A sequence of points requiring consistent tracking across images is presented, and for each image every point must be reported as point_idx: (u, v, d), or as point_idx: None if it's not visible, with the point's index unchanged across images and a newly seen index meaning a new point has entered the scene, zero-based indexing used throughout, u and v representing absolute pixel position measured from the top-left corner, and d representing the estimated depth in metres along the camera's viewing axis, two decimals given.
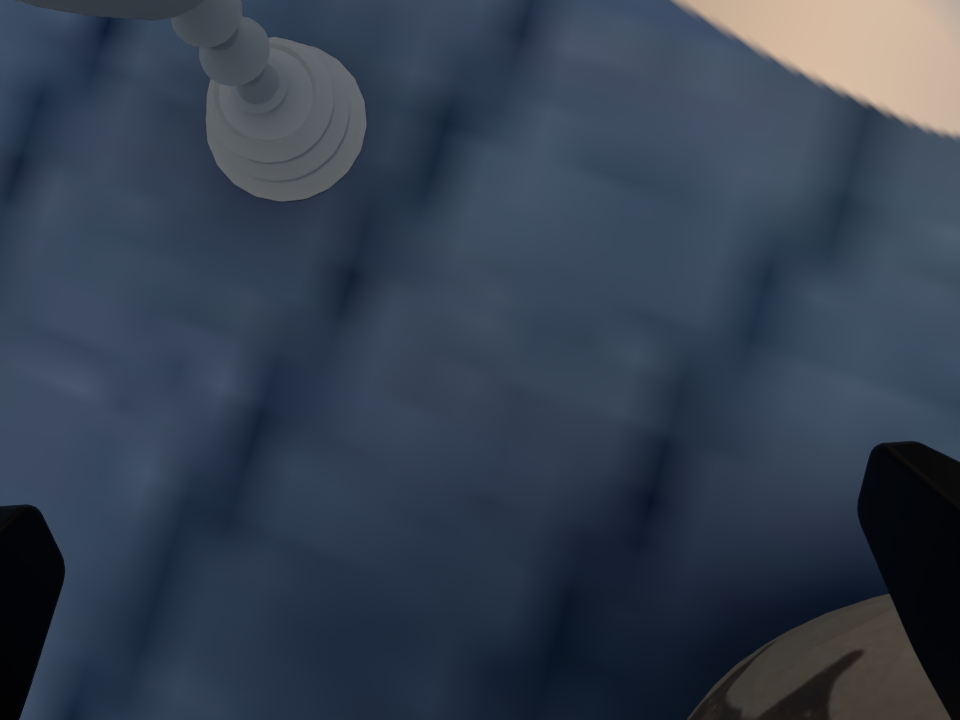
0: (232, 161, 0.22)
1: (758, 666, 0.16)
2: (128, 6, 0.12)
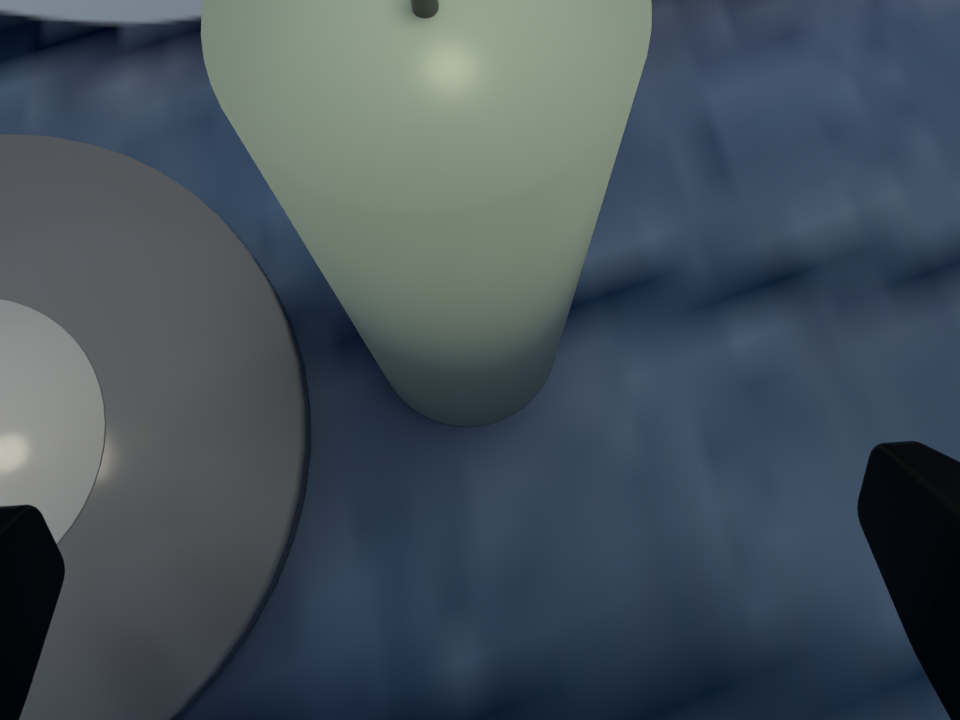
0: None
1: None
2: None
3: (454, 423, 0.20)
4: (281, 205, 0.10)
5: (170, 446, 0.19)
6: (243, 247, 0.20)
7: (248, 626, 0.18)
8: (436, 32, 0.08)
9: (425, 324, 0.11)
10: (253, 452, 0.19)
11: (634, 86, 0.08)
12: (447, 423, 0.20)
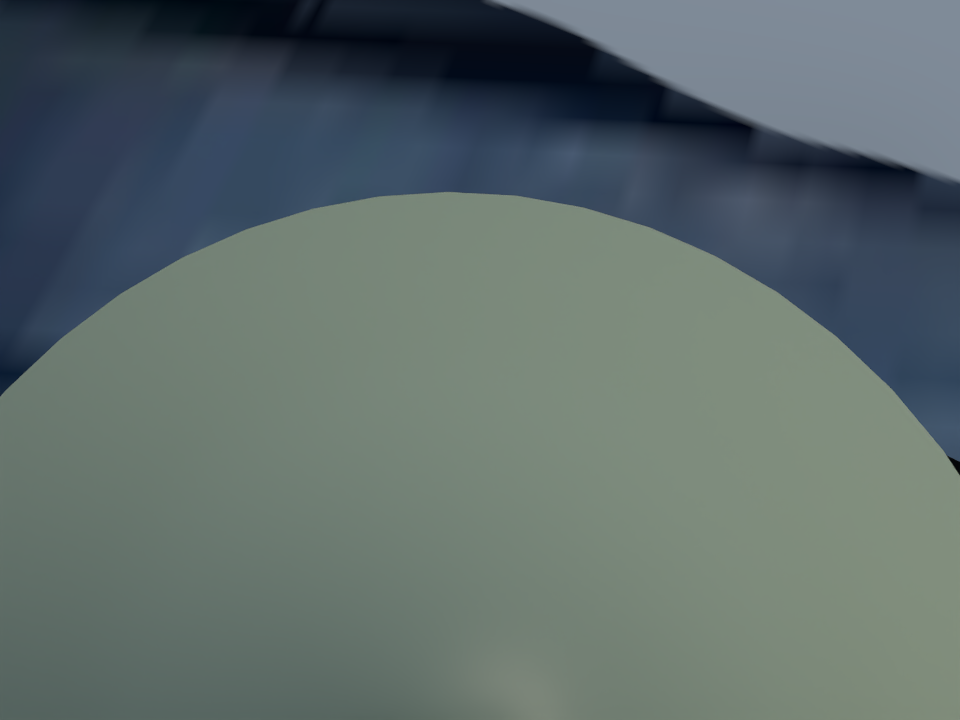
0: None
1: None
2: None
3: None
4: None
5: None
6: None
7: None
8: None
9: None
10: None
11: None
12: None
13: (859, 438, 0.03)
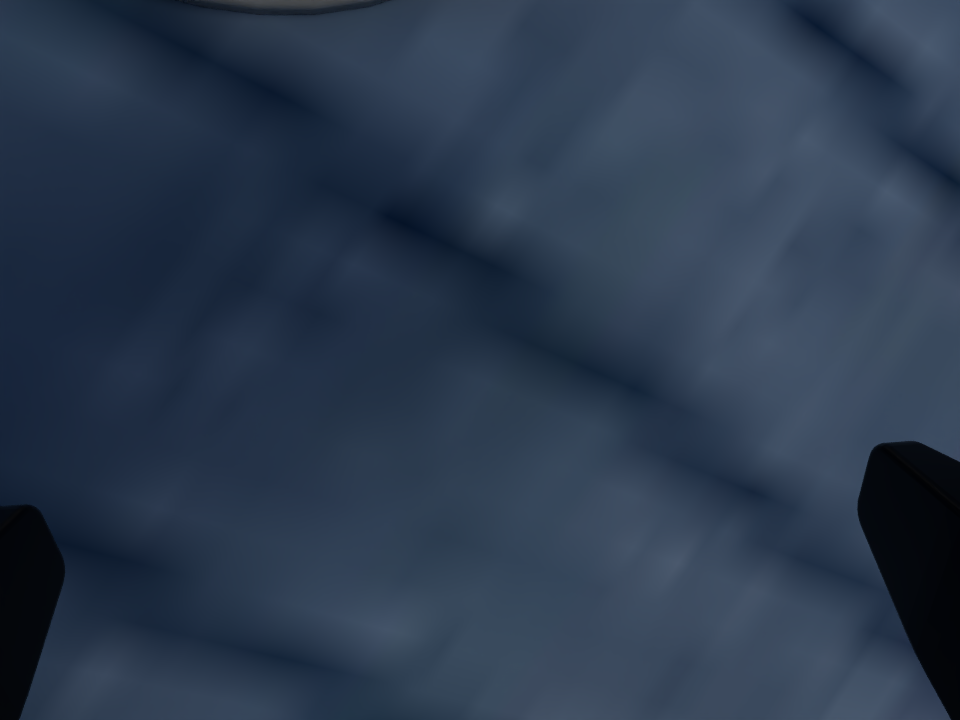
0: None
1: None
2: None
3: None
4: None
5: None
6: None
7: (373, 1, 0.16)
8: None
9: None
10: None
11: None
12: None
13: None
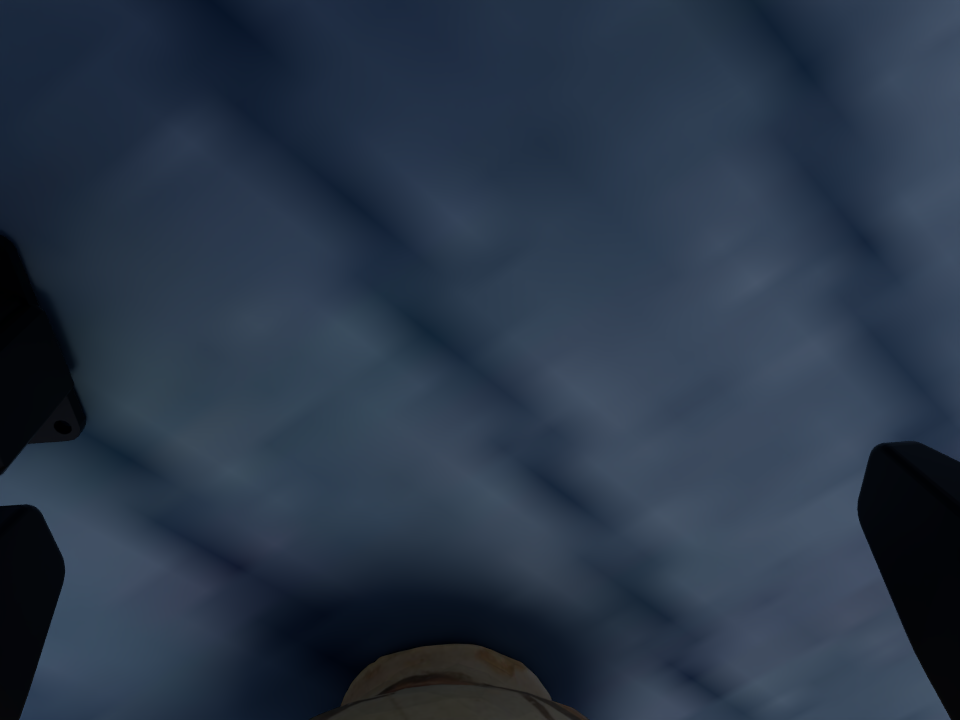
0: None
1: None
2: None
3: None
4: None
5: None
6: None
7: None
8: None
9: None
10: None
11: None
12: None
13: None
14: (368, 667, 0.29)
